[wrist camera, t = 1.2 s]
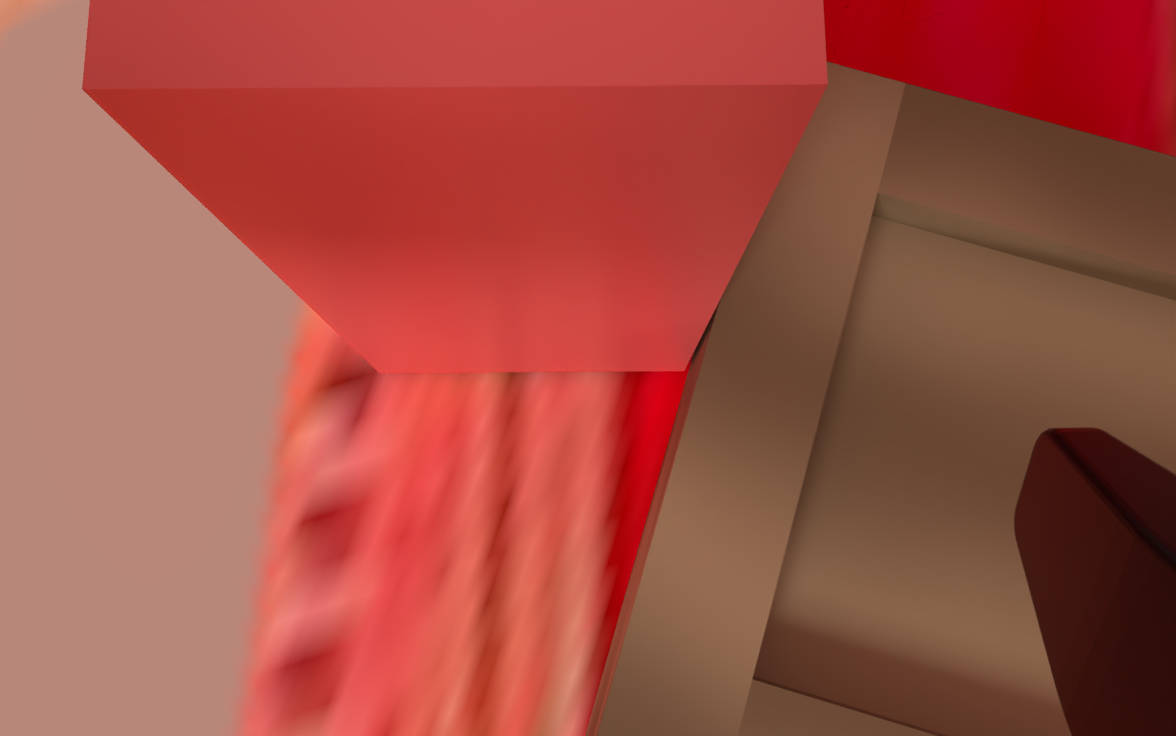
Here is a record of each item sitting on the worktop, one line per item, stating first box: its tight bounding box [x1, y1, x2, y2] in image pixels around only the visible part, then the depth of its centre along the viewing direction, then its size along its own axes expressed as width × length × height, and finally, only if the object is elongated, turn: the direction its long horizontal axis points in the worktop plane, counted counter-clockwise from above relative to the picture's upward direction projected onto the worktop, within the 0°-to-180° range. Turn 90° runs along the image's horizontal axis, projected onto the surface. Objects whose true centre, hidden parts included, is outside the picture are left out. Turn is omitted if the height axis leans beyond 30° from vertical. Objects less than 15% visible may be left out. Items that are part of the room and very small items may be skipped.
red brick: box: [82, 0, 828, 373], centre depth 15 cm, size 6×6×12 cm
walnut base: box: [586, 62, 1176, 736], centre depth 18 cm, size 12×12×4 cm
